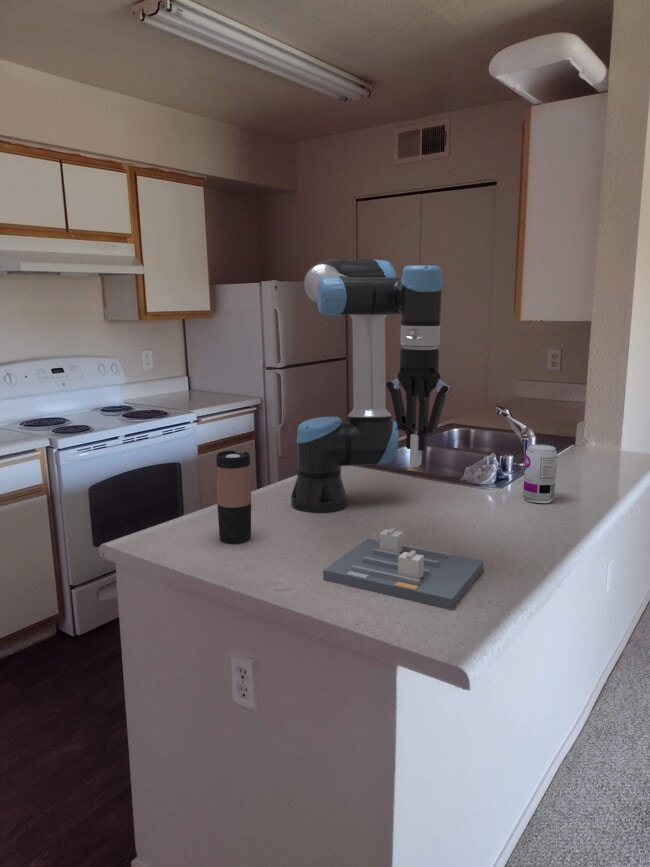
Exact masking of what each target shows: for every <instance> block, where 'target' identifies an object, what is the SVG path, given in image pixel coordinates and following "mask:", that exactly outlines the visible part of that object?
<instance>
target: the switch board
mask: <svg viewBox="0 0 650 867" xmlns="http://www.w3.org/2000/svg"><path fill="white" fill-rule="evenodd" d="M379 543H380V540H377V539H372V538H366V539H365V540H364V541H362V542H361V543H360V544H357V546H355V547H353V549H351V550H349V551H348V552H347V553H345V554H344V555H342V556H341V557H339V558H338V559H337V560H335V561H334V562H333V563H331V564H330V565H328V566H327V567H326V568H324V569H323V572H322V574H323V580H324V581H328V582H332V583H337V584H340V585H344V586H349V587H354V588H358V589H361V590H366V591H370V592H374V593H378V594H379V593H380V594H384V595H387V596H392V597H395V598H400V599H405V600H408V601H414V602H418V603H421V604H426V605H430V606H433V605H434V607H438V608H443V609H446V608H447V610H450V609H451V610H453V608H454V607H455V606H456V605H457V604H458V602H459V601H460V600H461V598H462V597H463V596H464V595H465V593H467V591H468V589H469V588H470V587H471V586H472V585H473V583H474V582H475V580H477V578H478V577H479V576H480V575H481V573H482V572H483V571H484V560H481V559H476V558H472V557H467V556H461V555H456V554H452V553H451V554H450V553H448V552H442V551H438V550H432V549H427V548H422V547H417V546H412V545H406V544H403V551H401V552H400V553H394V552H389V551H384V550H379ZM412 550H413V551H416V554H418V555H423V556H424V571H423V576H422V577H421V578H420V579H415V578H410V577H406V576H401V575H398V557H399V556H400V555H401V554H402V553H403V552H408V553H410V552H411V551H412Z"/></svg>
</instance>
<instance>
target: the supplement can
mask: <svg viewBox="0 0 650 867" xmlns="http://www.w3.org/2000/svg"><path fill="white" fill-rule="evenodd" d="M524 460H525V461H524V476H523V491H522V497H523V499H527V500H530V501H539V502H540V501H541V502H542V501H550V500H553V499H554V500H555V491H556V480H557V479H556V478H557V464H558V451H557V449H556V447H555V446H552V445H548V444H530V445H528V447H527V449H526V451H525V459H524ZM554 500H553V501H554Z"/></svg>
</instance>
